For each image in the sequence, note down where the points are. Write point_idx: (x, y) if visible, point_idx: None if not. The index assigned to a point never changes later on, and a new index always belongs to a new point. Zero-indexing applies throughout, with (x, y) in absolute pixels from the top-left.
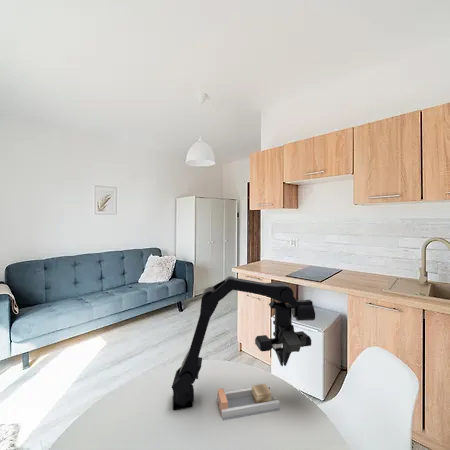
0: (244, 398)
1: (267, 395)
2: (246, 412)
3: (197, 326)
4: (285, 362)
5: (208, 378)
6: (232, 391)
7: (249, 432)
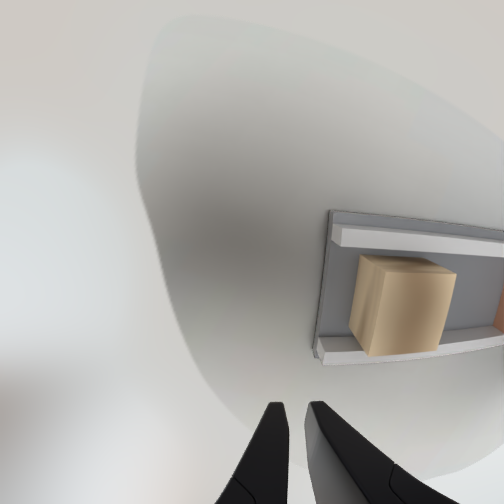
0: None
1: (403, 270)
2: (473, 238)
3: None
4: (285, 426)
5: (453, 431)
6: (479, 346)
7: (472, 168)
